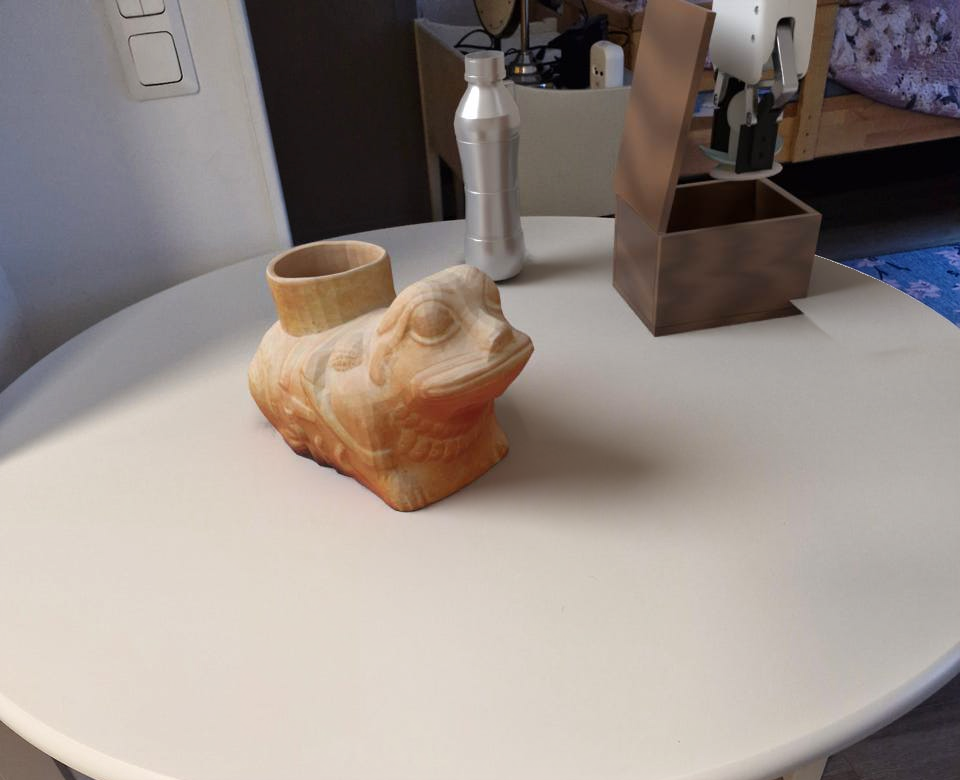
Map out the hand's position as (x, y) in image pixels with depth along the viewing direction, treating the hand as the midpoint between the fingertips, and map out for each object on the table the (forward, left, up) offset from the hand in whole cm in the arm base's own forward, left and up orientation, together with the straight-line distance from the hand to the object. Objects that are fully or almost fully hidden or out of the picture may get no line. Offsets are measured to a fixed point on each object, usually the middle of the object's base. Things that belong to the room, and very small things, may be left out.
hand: (739, 163), depth 79 cm
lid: (+8, 0, +5) cm, 9 cm away
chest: (+2, 0, -12) cm, 12 cm away
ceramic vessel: (+35, +18, -12) cm, 41 cm away
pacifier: (0, +1, -1) cm, 1 cm away
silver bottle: (+20, -13, -12) cm, 27 cm away
